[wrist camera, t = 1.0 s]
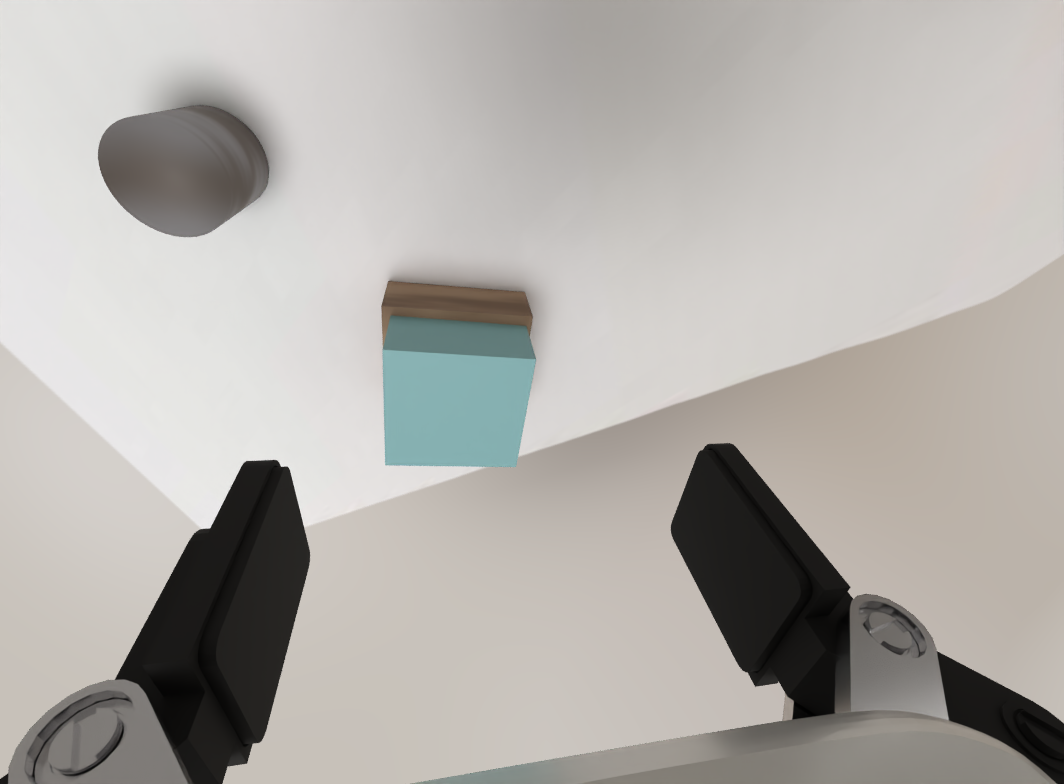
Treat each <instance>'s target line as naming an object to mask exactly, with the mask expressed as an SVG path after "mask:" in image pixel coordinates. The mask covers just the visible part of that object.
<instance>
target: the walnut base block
mask: <svg viewBox="0 0 1064 784" xmlns="http://www.w3.org/2000/svg"><path fill="white" fill-rule="evenodd" d="M381 307H382V333H383V346H384V342H385V337H386V333H387V329H388V325H389V320H390V316H404V317H417V318H430V319H443V320H456V321H469V322H482V323H495V324H507V325H520V326H526V327H527V330H528V334H529V337H530V331H531V325H532V318H533V316H532V313H531V310H530V307H529V304H528V301H527V298H526V295H525V292H517V291H505V290H492V289H480V288H467V287H455V286H442V285H430V284H417V283H405V282H393V281H388V284H387V288H386V291H385V295H384V299H383V302H382V306H381Z"/></svg>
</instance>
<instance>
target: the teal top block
mask: <svg viewBox="0 0 1064 784" xmlns="http://www.w3.org/2000/svg"><path fill="white" fill-rule="evenodd" d="M535 363H536V358H535V354H534V351H533V347H532V344H531V340H530V337H529V334H528V330H527V327H526V326H520V325H507V324H495V323H482V322H469V321H456V320H443V319H430V318H417V317H404V316H390V320H389V325H388V329H387V333H386V337H385V342H384V346H383V387H384V429H385V465H406V466H477V467H516V464H517V459H518V453H519V448H520V443H521V437H522V432H523V427H524V421H525V416H526V411H527V405H528V400H529V395H530V389H531V384H532V379H533V373H534V368H535Z"/></svg>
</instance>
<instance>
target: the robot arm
mask: <svg viewBox="0 0 1064 784" xmlns="http://www.w3.org/2000/svg"><path fill="white" fill-rule="evenodd" d="M671 534H672V537H673V539H674V541H675V543H676V545H677V547H678V549H679V551H680V553H681V555H682V557H683V559H684V561H685V563H686V565H687V567H688V569H689V570H690V572H691V574H692V576H693V578H694V580H695V582H696V584H697V586H698V588H699V590H700V592H701V594H702V596H703V598H704V599H705V602H706V603H707V605H708V607H709V609H710V611H711V613H712V615H713V617H714V619H715V621H716V623H717V625H718V627H719V628H720V630H721V632H722V634H723V636H724V638H725V640H726V642H727V644H728V646H729V648H730V650H731V652H732V654H733V656H734V658H735V660H736V662H737V663H738V665H739V667H740V668H741V669H742V670H743V671H745V672H748V674H749V676H750V678H751V680H752V681H753V683H754V685H755V686H763V685H769V684H775V683H778V681H779V683H780V684H781V686H782V688H783V690H784V691H785V703H784V711H783V721H779V722H773V723H767V724H761V725H755V726H749V727H742V728H736V729H730V730H725V731H718V732H712V733H706V734H700V735H694V736H687V737H681V738H676V739H669V740H663V741H657V742H651V743H645V744H640V745H633V746H628V747H622V748H616V749H610V750H604V751H598V752H592V753H586V754H580V755H574V756H568V757H563V758H557V759H551V760H545V761H539V762H533V763H527V764H521V765H515V766H510V767H504V768H498V769H493V770H487V771H482V772H475V773H470V774H464V775H458V776H452V777H447V778H441V779H436V780H429V781H424V782H419V783H412V784H1064V723H1062V722H1061V721H1060V720H1059V719H1057V718H1056V717H1055V716H1054V715H1052V714H1051V713H1050V712H1049V711H1047V710H1046V709H1044V708H1043V707H1041V706H1039V705H1038V704H1036V703H1034V702H1033V701H1031V700H1029V699H1027V698H1025V697H1023V696H1022V695H1020V694H1018V693H1016V692H1014V691H1012V690H1010V689H1008V688H1006V687H1004V686H1002V685H1000V684H998V683H996V682H994V681H993V680H991V679H989V678H987V677H985V676H983V675H981V674H979V673H978V672H976V671H974V670H972V669H970V668H968V667H966V666H964V665H962V664H960V663H958V662H956V661H955V660H953V659H951V658H949V657H947V656H945V655H943V654H941V653H939V652H937V650H936V647H935V644H934V641H933V639H932V637H931V635H930V634H929V632H928V631H927V629H926V628H925V626H924V625H923V624H922V623H921V622H920V621H919V620H918V619H917V618H916V617H915V616H914V615H913V614H911V613H910V612H909V611H907V610H906V609H905V608H903V607H902V606H900V605H898V604H897V603H895V602H893V601H891V600H889V599H886V598H883V597H880V596H878V595H871V594H863V595H859V596H857V597H855V598H854V599H853V598H852V597H851V596H850V594H849V593H848V592H847V591H848V590H849V588H850V586H849V585H848V584H847V582H846V581H845V580H844V579H843V578H842V576H841V575H840V574H839V573H838V571H837V570H836V569H835V568H834V567H833V565H832V564H831V563H830V562H829V560H828V559H827V558H826V557H825V556H824V554H823V553H822V552H821V551H820V549H819V548H818V547H817V546H816V544H815V543H814V542H813V541H812V540H811V538H810V537H809V536H808V535H807V533H806V532H805V531H804V530H803V529H802V527H801V526H800V525H799V524H798V522H797V521H796V520H795V519H794V517H793V516H792V515H791V514H790V513H789V511H788V510H787V509H786V508H785V507H784V505H783V504H782V503H781V502H780V500H779V499H778V498H777V497H776V495H775V494H774V493H773V492H772V491H771V489H770V488H769V487H768V486H767V484H766V483H765V482H764V481H763V479H762V478H761V477H760V476H759V475H758V474H757V472H756V471H755V470H754V469H753V467H752V466H751V465H750V464H749V462H748V461H747V460H746V459H745V457H744V456H743V455H742V454H741V453H740V451H739V450H738V449H737V448H736V447H735V446H734V445H733V444H730V443H724V444H708V445H707V446H705V448H704V449H703V450H702V451H700V452H699V453H698V455H697V457H696V460H695V463H694V465H693V468H692V471H691V473H690V476H689V478H688V481H687V484H686V486H685V489H684V492H683V494H682V497H681V500H680V502H679V505H678V507H677V510H676V513H675V515H674V518H673V521H672V524H671ZM309 562H310V550H309V546H308V542H307V538H306V534H305V530H304V526H303V521H302V517H301V513H300V509H299V505H298V501H297V497H296V493H295V489H294V485H293V481H292V477H291V473H290V470H289V468H288V467H281V466H280V464H279V462H278V461H277V460H264V461H246V462H245V463H244V464H243V465H242V467H241V469H240V471H239V473H238V475H237V477H236V479H235V481H234V483H233V485H232V487H231V489H230V490H229V492H228V494H227V496H226V498H225V500H224V502H223V504H222V506H221V508H220V510H219V512H218V514H217V516H216V518H215V520H214V522H213V524H212V526H211V528H210V529H200V530H198V531H197V532H196V533H194V535H193V536H192V538H191V539H190V541H189V542H188V544H187V546H186V548H185V550H184V552H183V554H182V555H181V557H180V559H179V561H178V563H177V565H176V567H175V568H174V570H173V572H172V574H171V576H170V578H169V580H168V581H167V583H166V585H165V587H164V589H163V591H162V593H161V594H160V597H159V598H158V600H157V602H156V604H155V606H154V608H153V610H152V611H151V613H150V615H149V617H148V619H147V621H146V623H145V624H144V626H143V628H142V630H141V632H140V634H139V636H138V638H137V639H136V641H135V643H134V645H133V647H132V649H131V651H130V652H129V654H128V656H127V658H126V660H125V662H124V664H123V666H122V667H121V669H120V671H119V673H118V675H117V677H116V679H115V680H107V681H103V682H100V683H97V684H93V685H90V686H87V687H85V688H84V689H81V690H79V691H77V692H75V693H73V694H72V695H70V696H68V697H67V698H65V699H64V700H62V701H61V702H60V703H58V704H57V705H55V706H54V707H53V708H51V709H50V710H48V712H46V713H45V715H43V716H42V718H40V719H39V720H38V721H37V722H36V723H35V724H34V725H33V726H32V727H31V728H30V729H29V731H28V732H27V734H26V735H25V737H24V738H23V739H22V741H21V742H20V744H19V745H18V747H17V748H16V750H15V753H14V755H13V758H12V760H11V763H10V765H9V773H8V774H7V775H5V776H4V777H3V778H1V779H0V784H222V783H223V780H224V776H225V773H226V770H227V766H234V765H240V764H247V761H248V758H249V755H250V751H251V747H252V744H253V743H259V742H261V741H262V739H263V737H264V735H265V732H266V729H267V725H268V721H269V717H270V714H271V710H272V706H273V702H274V698H275V694H276V690H277V687H278V683H279V679H280V675H281V671H282V668H283V664H284V660H285V656H286V652H287V649H288V645H289V640H290V637H291V633H292V629H293V626H294V622H295V618H296V614H297V610H298V606H299V603H300V598H301V595H302V591H303V587H304V584H305V580H306V576H307V572H308V568H309Z"/></svg>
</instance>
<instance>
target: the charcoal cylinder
mask: <svg viewBox="0 0 1064 784" xmlns="http://www.w3.org/2000/svg"><path fill="white" fill-rule="evenodd" d="M98 160H99V166H100V170H101V174H102V176H103V179H104V181H105V183H106V185H107V187H108V189H109V190H110V192H111V193H112V195H113V196H114V197H115V199H116V200H117V201H118V202H119V203H120V205H121V206H122V207H123V208H124V209H125V210H126V211H128V212H129V213H130V214H131V215H132V216H133V217H135V218H136V219H138V220H139V221H140V222H142V223H144V224H145V225H147V226H149V227H151V228H153V229H155V230H157V231H160V232H163V233H165V234H169V235H173V236H179V237H197V236H201V235H205V234H207V233H210V232H211V231H213V230H215V229H216V228H217V227H219V226H220V225H222V224H223V223H224V222H226V221H227V220H229V219H230V218H231V217H233V216H234V215H236V214H237V213H238V212H240V211H241V210H243V209H244V208H245V207H247V206H248V205H249V204H251V203H252V202H254V201H255V200H256V199H257V198H259V197H260V196H261V194H262V193H263V192H264V190H265V188H266V186H267V183H268V178H269V167H268V161H267V157H266V155H265V152H264V150H263V147H262V145H261V144H260V142H259V140H258V139H257V138H256V136H255V135H254V134H253V132H252V131H251V130H250V129H249V128H248V127H247V126H246V125H245V124H244V123H243V122H241V121H240V120H239V119H237V118H236V117H234V116H233V115H231V114H229V113H228V112H225V111H223V110H221V109H218V108H215V107H210V106H202V105H199V106H190V107H184V108H178V109H173V110H167V111H161V112H155V113H149V114H143V115H138V116H132V117H127V118H124V119H121V120H119V121H117V122H115V123H114V124H112V125H111V126H110V127H109V128H108V129H107V130H106V131H105V133H104V134H103V136H102V138H101V141H100V144H99V149H98Z"/></svg>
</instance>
